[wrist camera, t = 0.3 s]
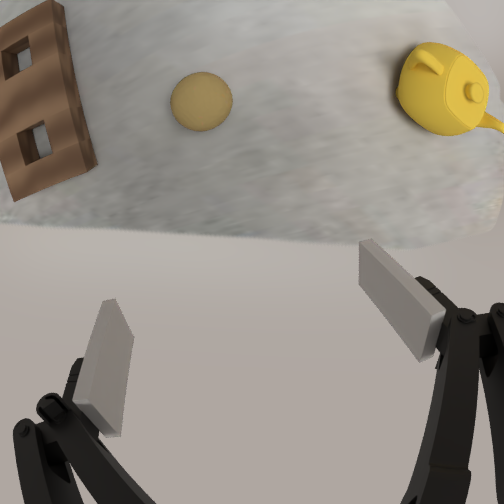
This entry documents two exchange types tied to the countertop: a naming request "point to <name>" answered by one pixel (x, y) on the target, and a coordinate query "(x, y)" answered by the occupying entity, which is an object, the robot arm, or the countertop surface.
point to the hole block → (40, 103)
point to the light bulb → (201, 101)
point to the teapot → (444, 91)
